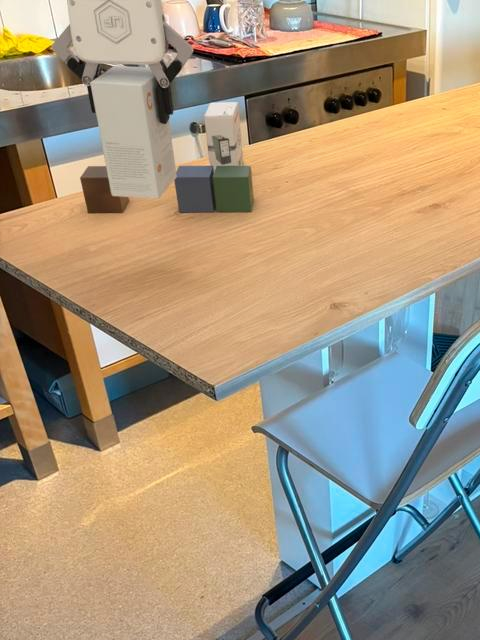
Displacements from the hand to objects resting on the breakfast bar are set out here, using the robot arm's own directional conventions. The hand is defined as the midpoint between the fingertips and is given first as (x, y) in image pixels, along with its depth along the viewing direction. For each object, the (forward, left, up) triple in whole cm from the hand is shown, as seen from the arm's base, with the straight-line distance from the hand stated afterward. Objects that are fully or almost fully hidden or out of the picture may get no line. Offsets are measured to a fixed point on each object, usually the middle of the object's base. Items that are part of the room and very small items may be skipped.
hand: (134, 118), depth 99 cm
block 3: (+8, +26, -20) cm, 34 cm away
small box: (0, 0, -8) cm, 8 cm away
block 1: (-13, +26, -20) cm, 36 cm away
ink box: (+6, +38, -20) cm, 44 cm away
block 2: (+2, +26, -20) cm, 33 cm away
